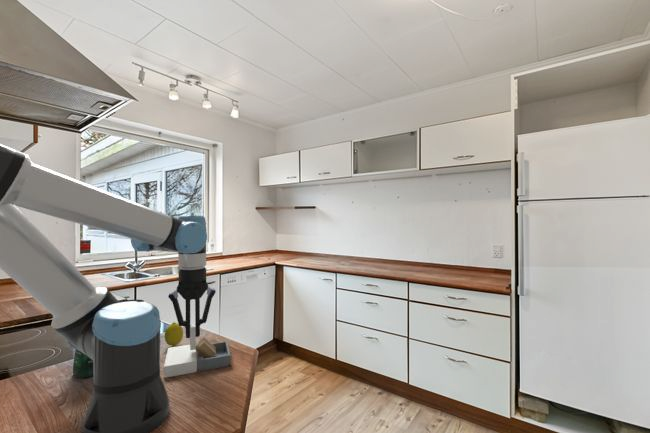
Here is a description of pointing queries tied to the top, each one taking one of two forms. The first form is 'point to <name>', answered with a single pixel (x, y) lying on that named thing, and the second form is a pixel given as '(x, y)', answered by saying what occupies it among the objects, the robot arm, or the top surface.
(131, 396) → the robot arm
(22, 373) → the top surface
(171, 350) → the board
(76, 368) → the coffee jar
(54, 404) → the top surface
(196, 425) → the top surface
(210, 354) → the brown wooden block
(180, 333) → the lemon
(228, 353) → the tray
